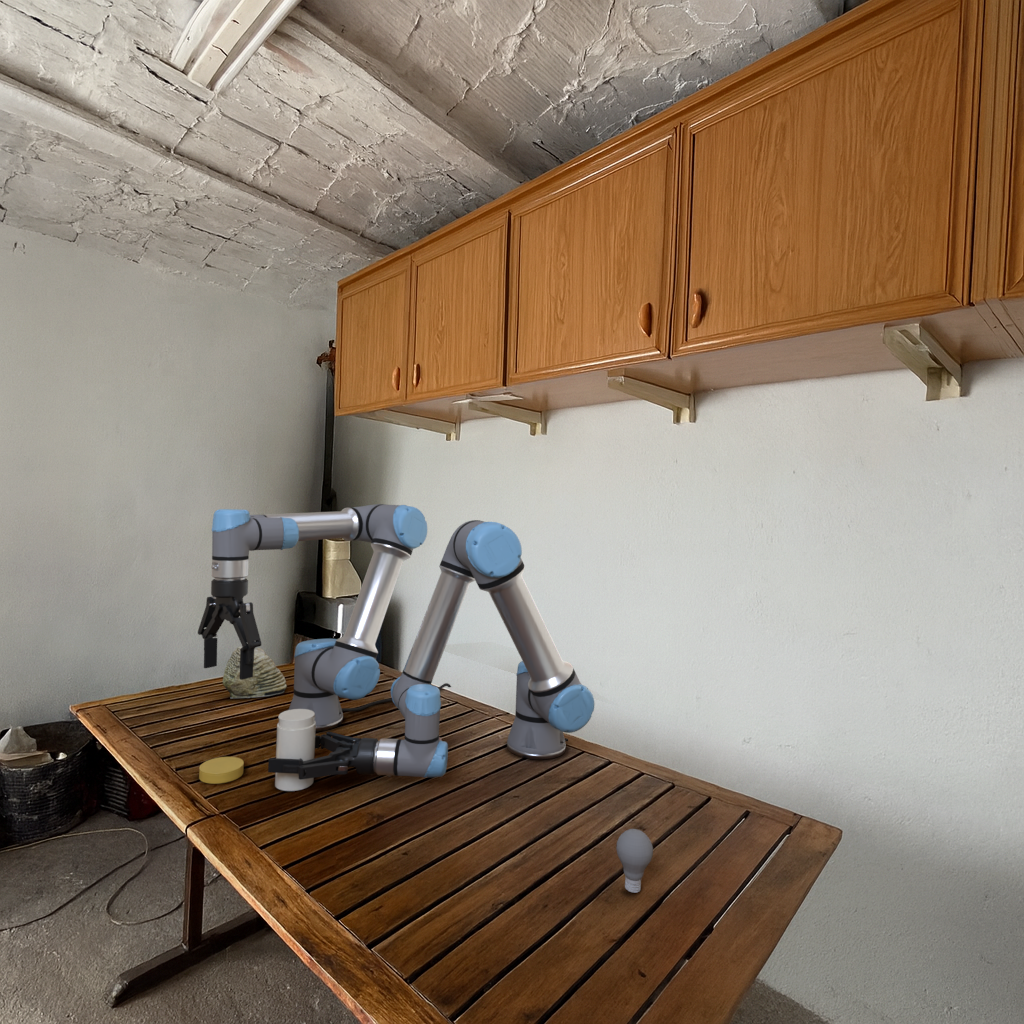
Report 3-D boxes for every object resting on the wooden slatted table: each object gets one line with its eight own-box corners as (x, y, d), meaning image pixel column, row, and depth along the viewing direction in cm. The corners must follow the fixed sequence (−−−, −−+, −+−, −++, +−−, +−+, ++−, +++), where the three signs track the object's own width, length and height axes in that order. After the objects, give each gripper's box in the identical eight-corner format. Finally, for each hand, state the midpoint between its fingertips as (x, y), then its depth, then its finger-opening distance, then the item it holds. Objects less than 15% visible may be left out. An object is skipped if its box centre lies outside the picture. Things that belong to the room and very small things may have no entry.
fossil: (218, 695, 195) (220, 647, 195) (278, 685, 208) (279, 640, 207) (228, 703, 189) (230, 653, 188) (289, 692, 201) (290, 645, 201)
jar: (299, 771, 145) (302, 705, 145) (321, 782, 140) (323, 714, 140) (267, 783, 139) (269, 714, 139) (288, 794, 134) (291, 723, 134)
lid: (216, 787, 136) (217, 777, 136) (190, 777, 140) (190, 767, 140) (252, 772, 144) (252, 762, 144) (225, 763, 148) (226, 753, 148)
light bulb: (610, 879, 108) (613, 822, 108) (644, 879, 109) (647, 822, 109) (619, 902, 102) (622, 840, 102) (655, 901, 103) (658, 840, 103)
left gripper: (182, 574, 145) (180, 665, 146) (249, 586, 132) (246, 687, 132) (213, 571, 151) (211, 659, 152) (279, 582, 138) (277, 679, 139)
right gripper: (363, 800, 127) (257, 795, 127) (387, 751, 152) (299, 747, 152) (364, 763, 127) (258, 758, 127) (388, 720, 152) (300, 716, 152)
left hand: (227, 672), depth 142 cm, fingers open, 13 cm apart
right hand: (280, 752), depth 140 cm, fingers open, 13 cm apart
